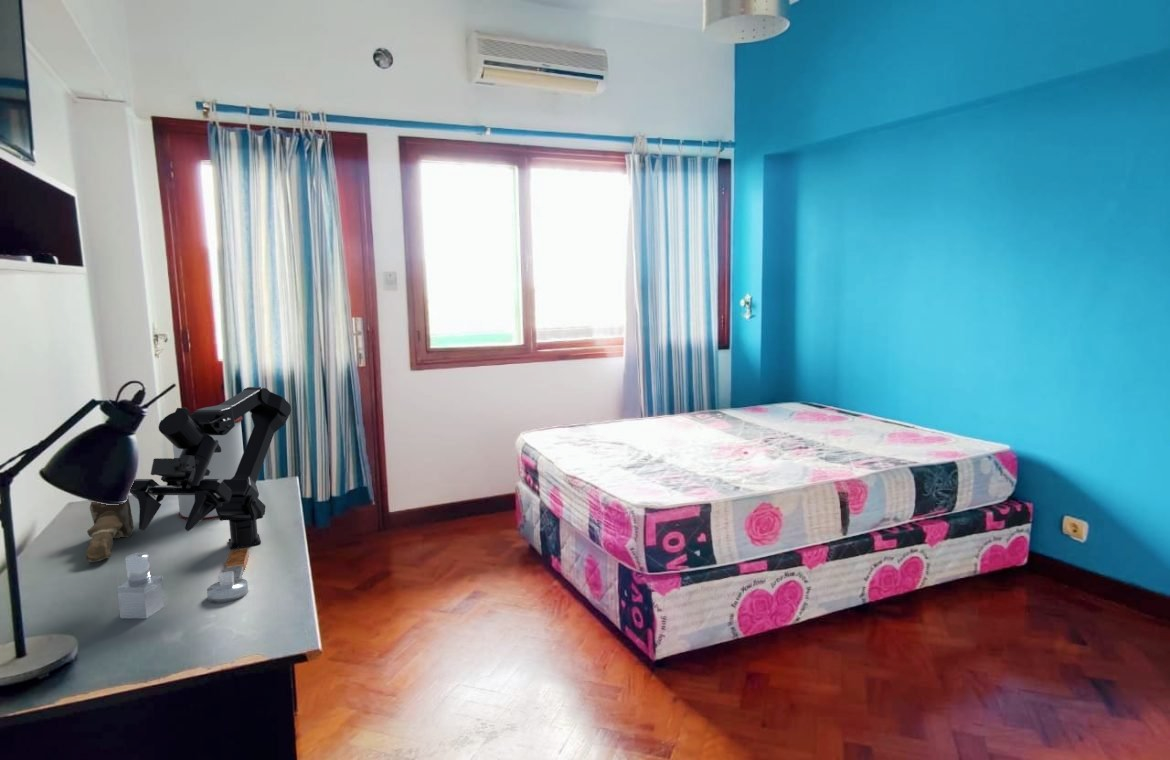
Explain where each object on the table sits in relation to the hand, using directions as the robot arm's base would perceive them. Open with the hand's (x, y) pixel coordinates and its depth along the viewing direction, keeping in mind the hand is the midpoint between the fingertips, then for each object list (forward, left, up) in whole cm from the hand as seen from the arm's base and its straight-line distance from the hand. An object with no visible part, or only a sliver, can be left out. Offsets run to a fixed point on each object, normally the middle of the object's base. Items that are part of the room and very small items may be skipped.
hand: (163, 530), depth 129 cm
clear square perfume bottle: (+6, -4, -13) cm, 15 cm away
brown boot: (-35, -13, -14) cm, 40 cm away
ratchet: (-1, +11, -13) cm, 17 cm away
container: (-54, +10, -13) cm, 56 cm away
